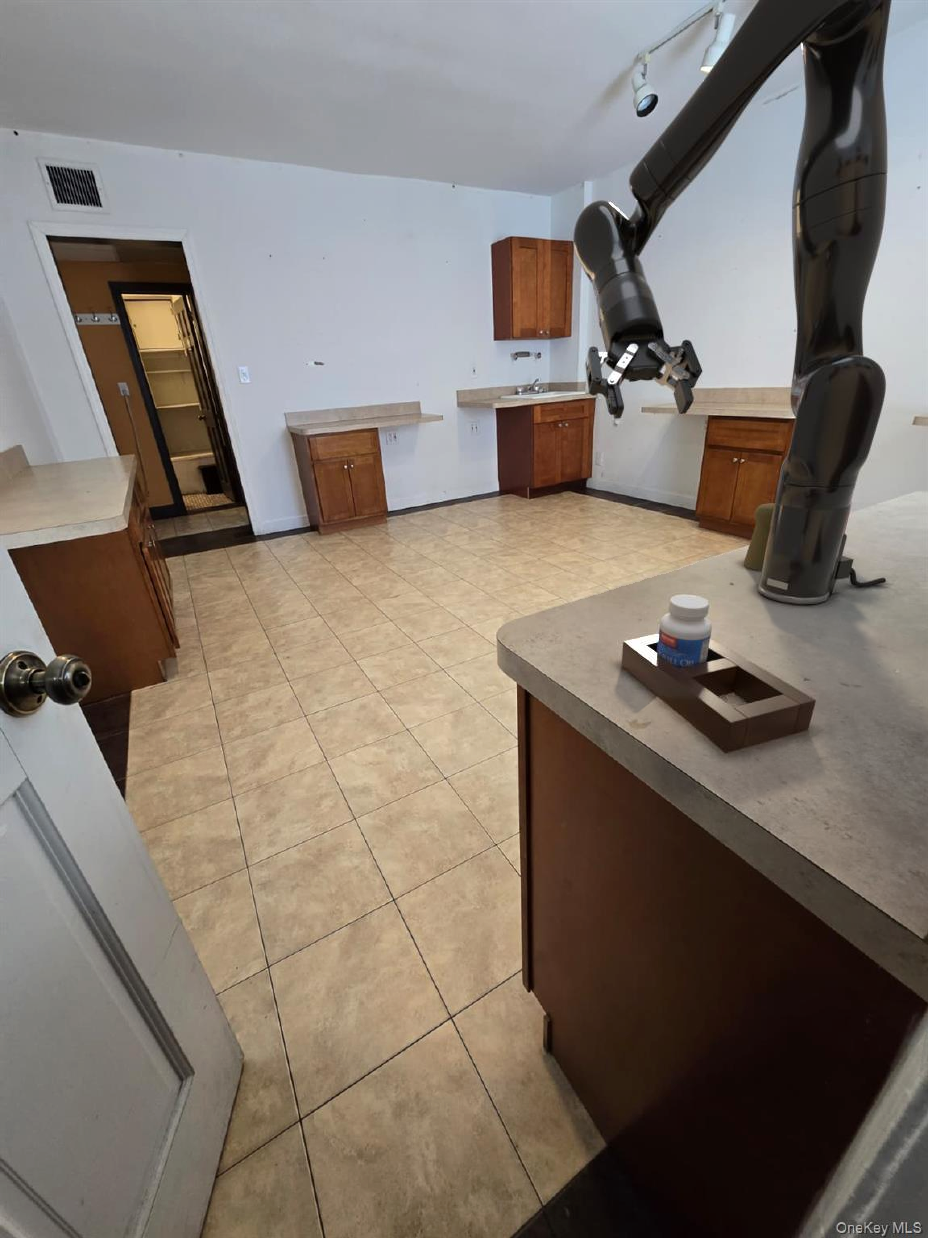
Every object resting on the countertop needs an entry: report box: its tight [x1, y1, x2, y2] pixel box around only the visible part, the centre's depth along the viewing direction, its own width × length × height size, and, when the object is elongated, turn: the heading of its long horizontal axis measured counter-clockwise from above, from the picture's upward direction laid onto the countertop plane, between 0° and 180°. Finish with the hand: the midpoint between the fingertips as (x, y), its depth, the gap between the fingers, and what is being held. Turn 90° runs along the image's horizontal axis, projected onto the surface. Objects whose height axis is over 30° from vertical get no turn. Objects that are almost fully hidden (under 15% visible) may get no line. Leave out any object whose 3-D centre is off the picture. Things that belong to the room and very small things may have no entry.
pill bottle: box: [657, 594, 713, 669], centre depth 59 cm, size 6×5×10 cm
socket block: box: [621, 633, 817, 754], centre depth 56 cm, size 10×18×4 cm, turn 17°
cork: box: [742, 502, 775, 572], centre depth 90 cm, size 6×6×11 cm
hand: (652, 411), depth 65 cm, fingers open, 8 cm apart
